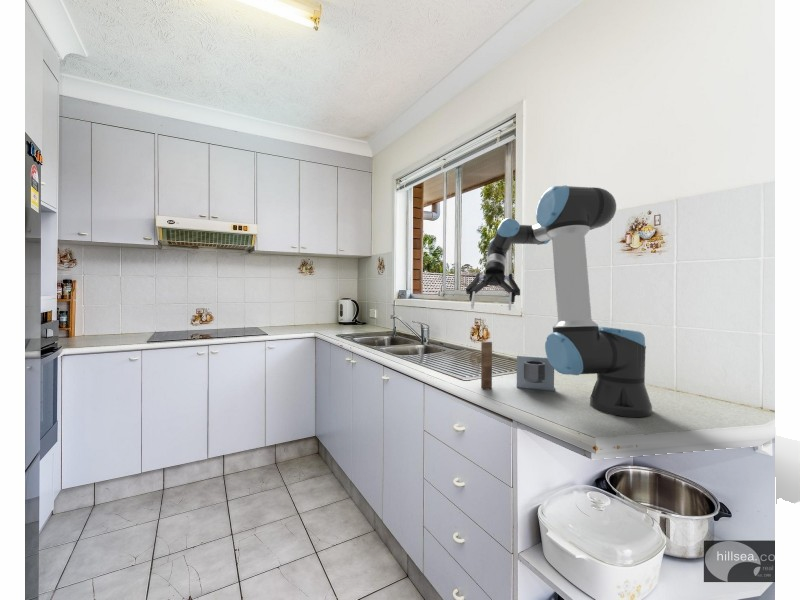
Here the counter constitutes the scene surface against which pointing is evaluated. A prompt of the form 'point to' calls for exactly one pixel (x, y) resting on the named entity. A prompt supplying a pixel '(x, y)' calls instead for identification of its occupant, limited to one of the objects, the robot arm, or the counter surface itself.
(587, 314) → the robot arm
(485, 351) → the rail post
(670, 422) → the counter surface
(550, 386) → the wall board
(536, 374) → the cup bracket
